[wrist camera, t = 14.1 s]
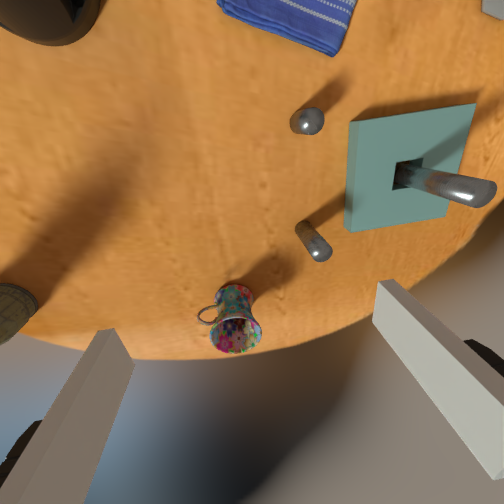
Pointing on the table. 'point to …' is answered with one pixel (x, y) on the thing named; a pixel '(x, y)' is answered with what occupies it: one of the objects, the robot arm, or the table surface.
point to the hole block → (396, 150)
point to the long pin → (446, 184)
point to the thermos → (14, 310)
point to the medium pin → (313, 241)
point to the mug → (233, 320)
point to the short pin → (307, 121)
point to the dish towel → (297, 19)
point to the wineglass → (493, 8)
